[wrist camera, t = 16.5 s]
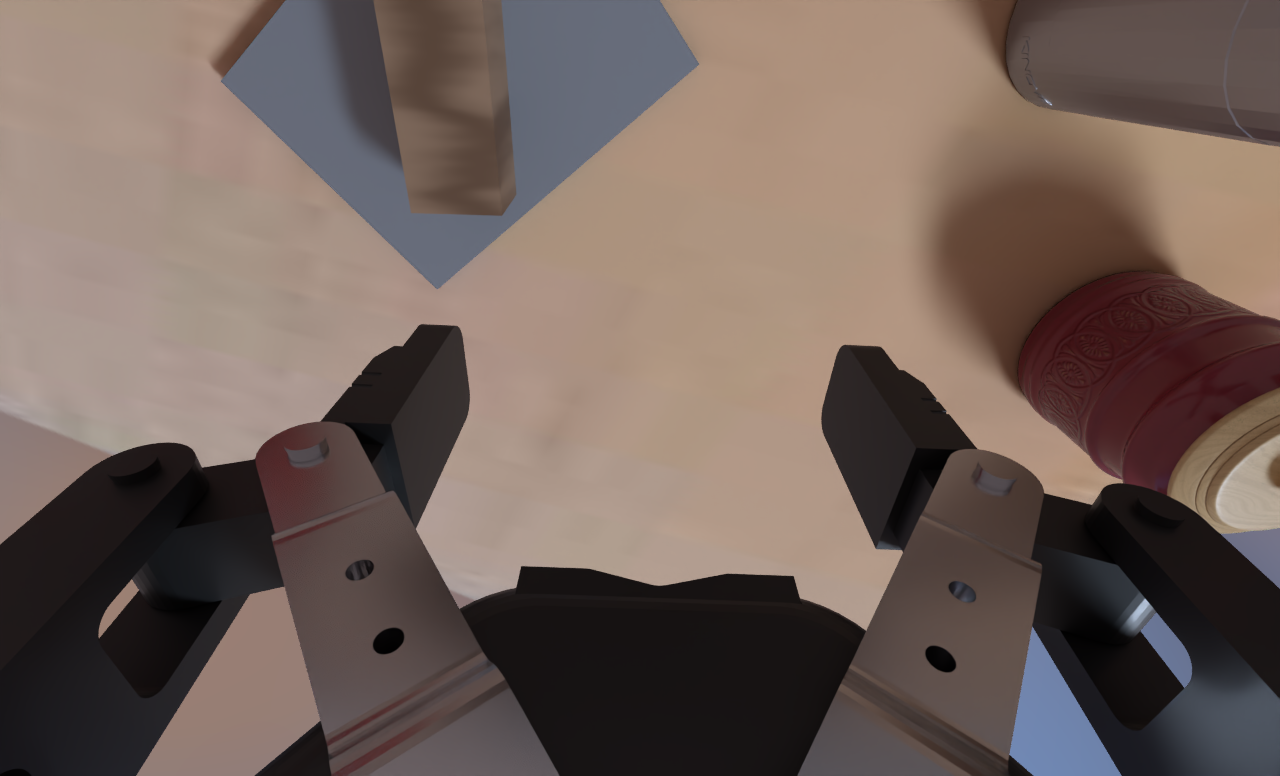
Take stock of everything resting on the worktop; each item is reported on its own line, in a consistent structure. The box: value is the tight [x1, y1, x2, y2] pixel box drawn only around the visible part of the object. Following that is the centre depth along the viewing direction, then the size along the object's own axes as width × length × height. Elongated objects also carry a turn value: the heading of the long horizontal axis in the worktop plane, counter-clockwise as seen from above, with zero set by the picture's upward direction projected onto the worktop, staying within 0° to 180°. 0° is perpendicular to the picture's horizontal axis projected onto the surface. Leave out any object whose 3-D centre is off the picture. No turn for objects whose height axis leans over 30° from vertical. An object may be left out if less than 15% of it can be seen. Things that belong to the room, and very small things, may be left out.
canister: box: [1018, 271, 1280, 533], centre depth 36 cm, size 13×13×18 cm
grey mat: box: [221, 0, 699, 289], centre depth 32 cm, size 22×16×1 cm
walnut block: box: [373, 0, 516, 216], centre depth 30 cm, size 5×5×12 cm
